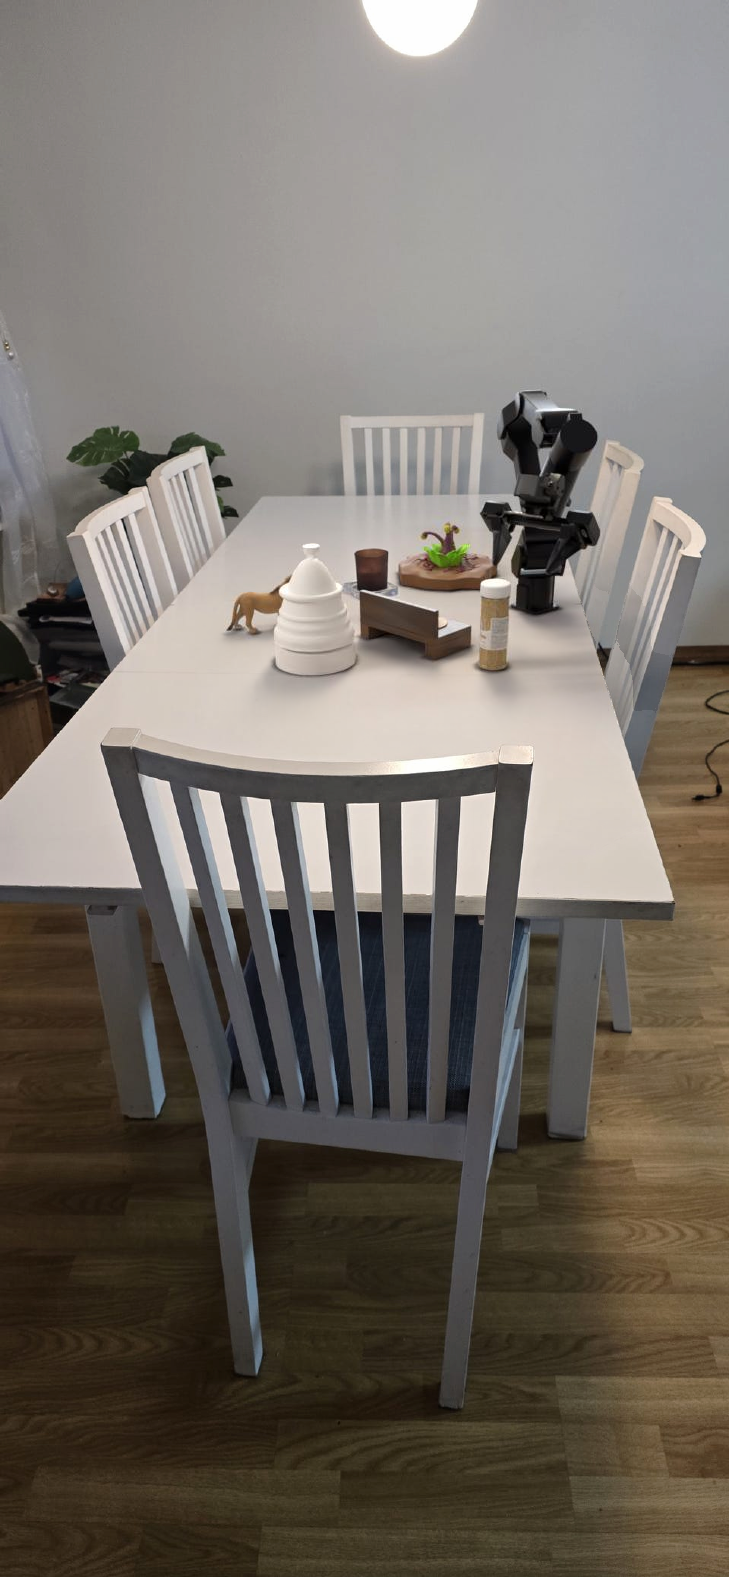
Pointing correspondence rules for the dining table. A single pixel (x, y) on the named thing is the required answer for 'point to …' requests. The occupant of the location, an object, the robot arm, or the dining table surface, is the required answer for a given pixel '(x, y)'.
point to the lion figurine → (256, 606)
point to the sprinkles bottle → (494, 623)
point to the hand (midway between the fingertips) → (520, 569)
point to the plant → (446, 565)
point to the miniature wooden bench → (412, 624)
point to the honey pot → (313, 622)
